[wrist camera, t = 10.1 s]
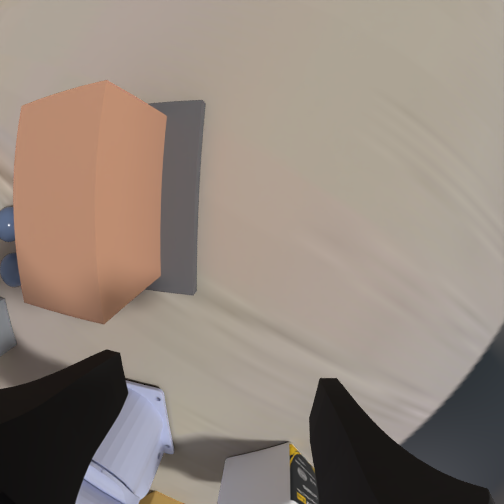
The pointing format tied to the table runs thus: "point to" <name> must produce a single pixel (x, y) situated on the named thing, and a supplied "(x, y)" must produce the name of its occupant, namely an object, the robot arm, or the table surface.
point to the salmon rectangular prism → (88, 200)
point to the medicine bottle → (269, 478)
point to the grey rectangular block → (5, 329)
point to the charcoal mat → (180, 196)
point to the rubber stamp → (158, 499)
